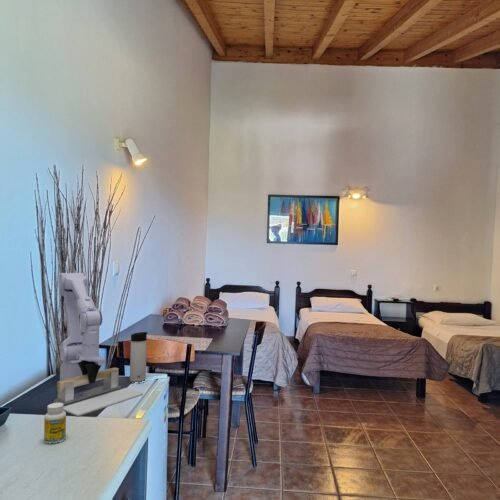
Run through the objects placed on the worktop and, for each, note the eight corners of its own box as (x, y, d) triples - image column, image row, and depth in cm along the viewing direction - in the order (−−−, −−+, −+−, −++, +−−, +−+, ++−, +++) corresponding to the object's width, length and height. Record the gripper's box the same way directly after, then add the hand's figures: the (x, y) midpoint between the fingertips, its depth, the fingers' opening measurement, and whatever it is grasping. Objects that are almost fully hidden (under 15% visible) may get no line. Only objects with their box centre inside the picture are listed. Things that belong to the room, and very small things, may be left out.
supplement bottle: (61, 434, 115) (62, 400, 115) (68, 440, 111) (69, 405, 111) (41, 439, 111) (42, 404, 111) (47, 446, 107) (48, 410, 107)
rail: (56, 388, 137) (57, 381, 137) (114, 373, 156) (114, 367, 156) (60, 390, 136) (61, 382, 136) (118, 375, 155) (118, 368, 155)
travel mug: (142, 384, 160) (143, 333, 160) (126, 383, 161) (128, 332, 162) (149, 379, 166) (150, 331, 167) (134, 378, 167) (135, 330, 168)
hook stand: (53, 403, 138) (54, 382, 138) (111, 386, 157) (111, 368, 157) (63, 407, 135) (63, 386, 135) (121, 389, 153) (121, 371, 154)
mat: (60, 409, 133) (60, 407, 133) (126, 389, 154) (126, 387, 154) (77, 416, 127) (77, 414, 127) (143, 394, 148) (143, 393, 148)
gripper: (68, 343, 147) (67, 380, 147) (92, 348, 139) (91, 388, 138) (86, 340, 153) (85, 376, 153) (110, 345, 144) (109, 383, 144)
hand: (89, 381), depth 146 cm, fingers closed on rail, 2 cm apart
